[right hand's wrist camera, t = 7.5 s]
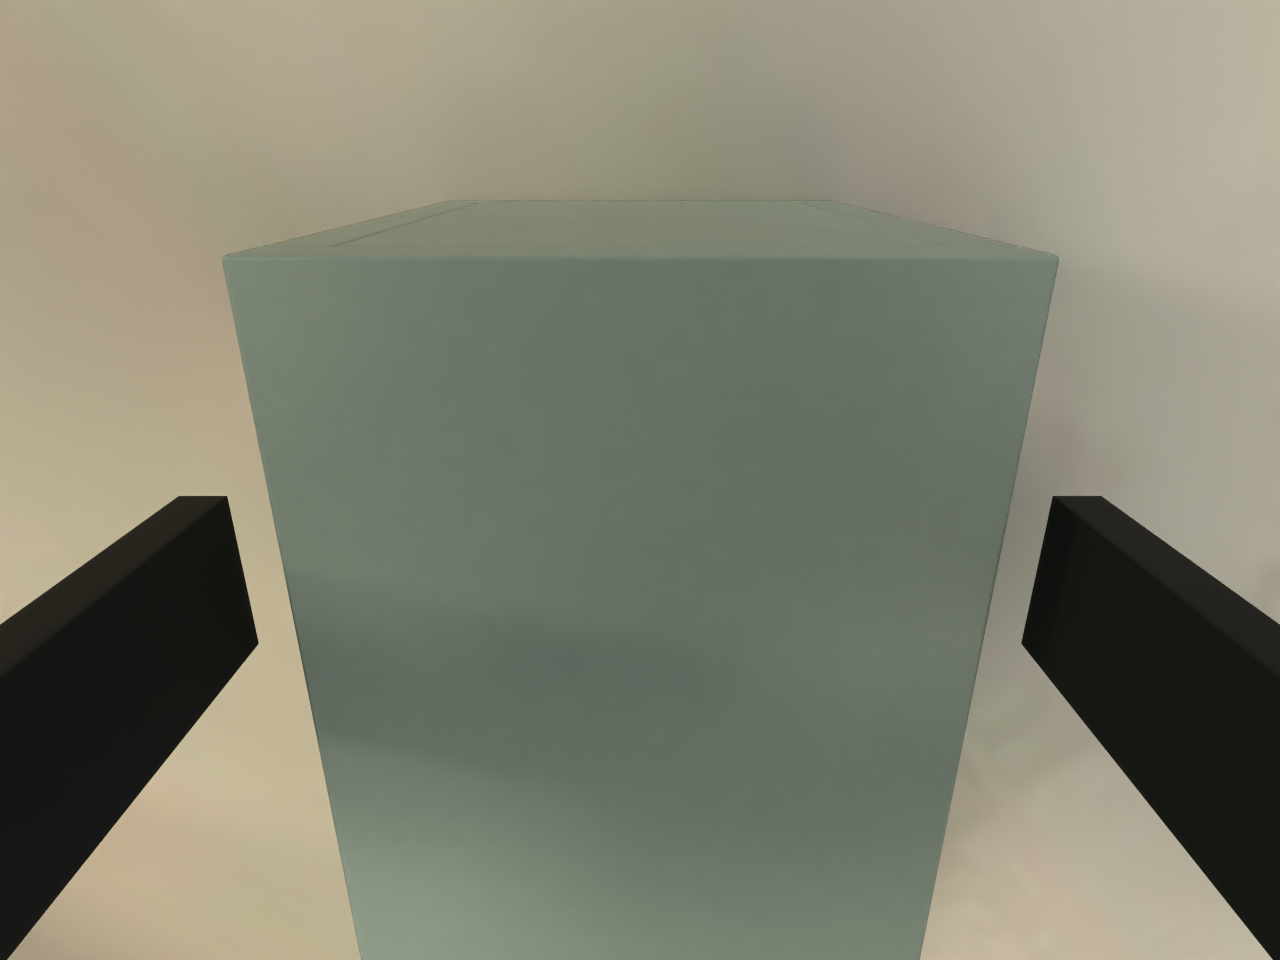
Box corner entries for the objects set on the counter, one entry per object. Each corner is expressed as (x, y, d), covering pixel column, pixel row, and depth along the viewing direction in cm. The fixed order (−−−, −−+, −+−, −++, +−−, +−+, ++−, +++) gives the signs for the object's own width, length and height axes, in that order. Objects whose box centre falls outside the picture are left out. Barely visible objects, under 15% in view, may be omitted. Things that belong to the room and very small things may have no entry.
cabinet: (780, 794, 28) (871, 1206, 17) (499, 794, 28) (409, 1207, 17) (833, 200, 20) (1062, 254, 9) (446, 200, 20) (218, 254, 9)
